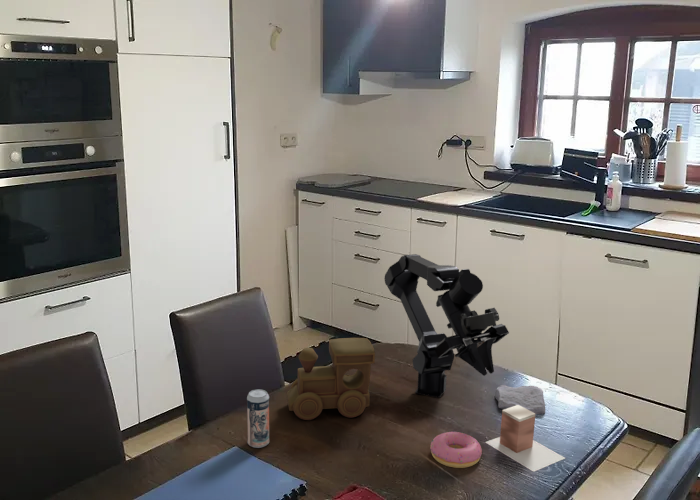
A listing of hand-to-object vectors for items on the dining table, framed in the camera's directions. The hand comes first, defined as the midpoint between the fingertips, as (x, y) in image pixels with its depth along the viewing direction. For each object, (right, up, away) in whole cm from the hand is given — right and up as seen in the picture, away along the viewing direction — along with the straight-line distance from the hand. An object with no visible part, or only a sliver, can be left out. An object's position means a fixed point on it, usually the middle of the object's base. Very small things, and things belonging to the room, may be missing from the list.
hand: (488, 373), depth 157 cm
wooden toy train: (-37, -11, +10) cm, 40 cm away
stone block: (+11, -11, +15) cm, 21 cm away
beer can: (-52, -14, -6) cm, 54 cm away
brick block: (+5, -15, -5) cm, 16 cm away
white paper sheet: (+6, -16, -7) cm, 18 cm away
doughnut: (-9, -17, -9) cm, 21 cm away
